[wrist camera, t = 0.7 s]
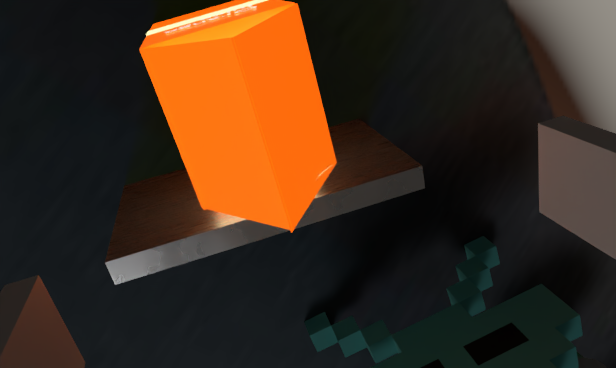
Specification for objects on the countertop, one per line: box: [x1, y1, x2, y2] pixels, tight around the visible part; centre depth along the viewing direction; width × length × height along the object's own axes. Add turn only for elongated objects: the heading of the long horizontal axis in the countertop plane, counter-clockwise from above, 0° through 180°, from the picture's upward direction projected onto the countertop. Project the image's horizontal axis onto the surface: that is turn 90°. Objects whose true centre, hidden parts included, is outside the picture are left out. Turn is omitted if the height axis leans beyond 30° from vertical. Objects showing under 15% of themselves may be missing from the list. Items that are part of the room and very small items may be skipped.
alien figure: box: [304, 236, 583, 368], centre depth 41 cm, size 20×2×20 cm, turn 111°
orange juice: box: [139, 0, 337, 233], centre depth 29 cm, size 8×9×20 cm
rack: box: [105, 119, 425, 285], centre depth 31 cm, size 24×20×12 cm
